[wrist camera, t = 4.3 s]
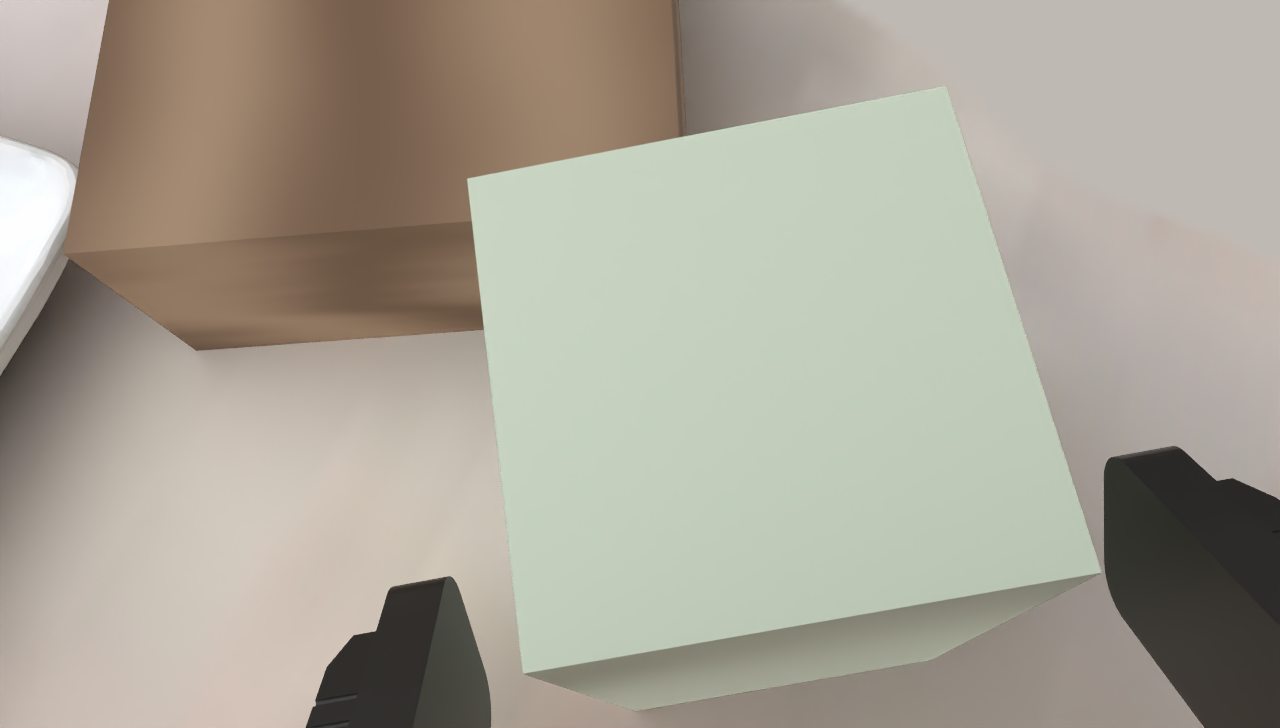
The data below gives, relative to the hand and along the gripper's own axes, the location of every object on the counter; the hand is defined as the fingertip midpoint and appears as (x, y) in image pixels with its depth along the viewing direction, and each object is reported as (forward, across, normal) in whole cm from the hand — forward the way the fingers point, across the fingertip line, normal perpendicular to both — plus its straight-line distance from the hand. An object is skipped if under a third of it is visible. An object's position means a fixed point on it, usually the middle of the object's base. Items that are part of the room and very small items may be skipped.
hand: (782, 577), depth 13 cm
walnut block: (+14, +5, -4) cm, 16 cm away
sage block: (+6, 0, +4) cm, 7 cm away
